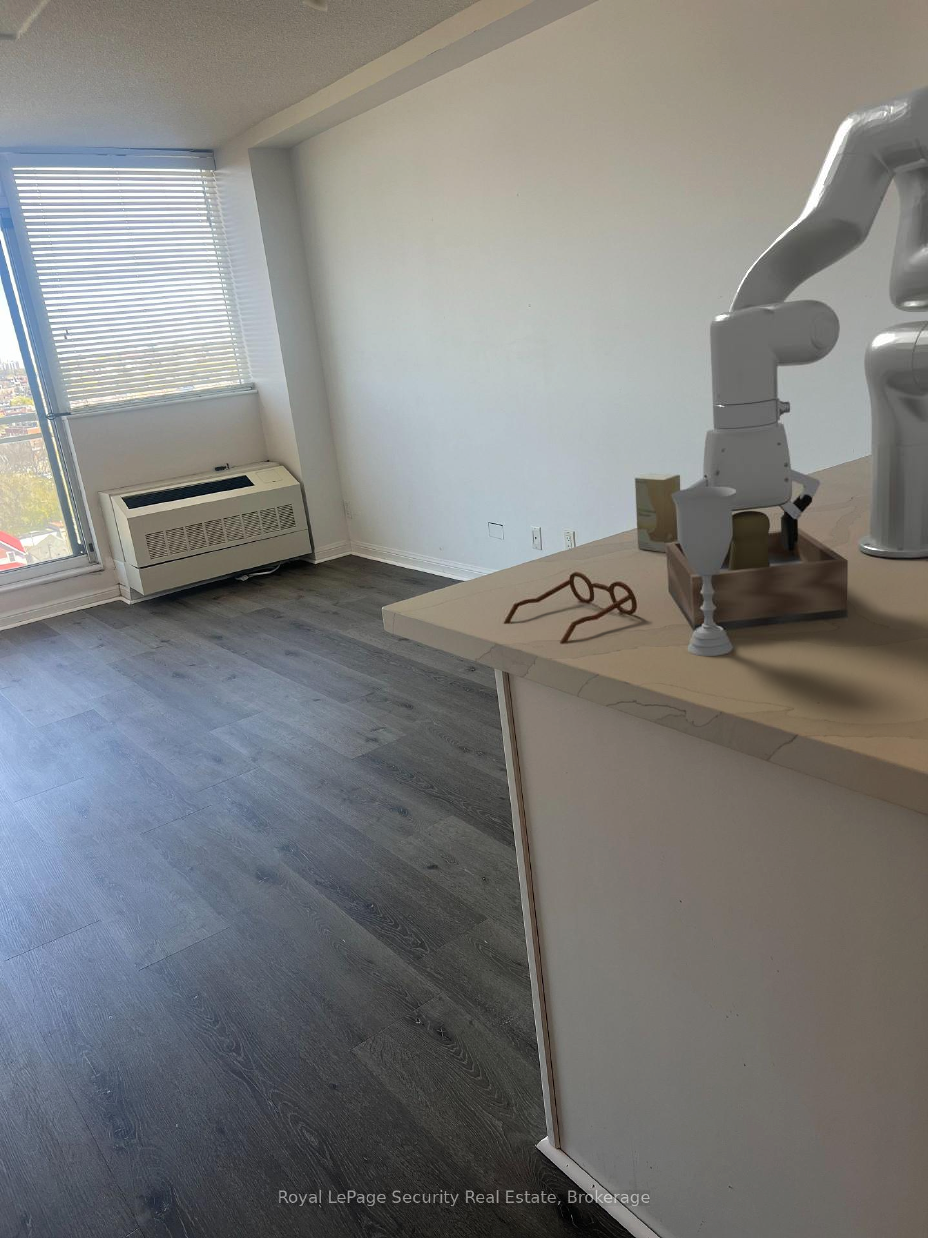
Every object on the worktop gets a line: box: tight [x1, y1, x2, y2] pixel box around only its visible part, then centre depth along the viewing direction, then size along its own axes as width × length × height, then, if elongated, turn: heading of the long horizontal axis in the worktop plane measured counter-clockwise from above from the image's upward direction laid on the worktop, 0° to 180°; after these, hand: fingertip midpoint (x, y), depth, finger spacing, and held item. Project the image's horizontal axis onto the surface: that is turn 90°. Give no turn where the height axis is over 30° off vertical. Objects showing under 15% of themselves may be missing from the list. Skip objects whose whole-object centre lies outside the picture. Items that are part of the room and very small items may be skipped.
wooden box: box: [665, 527, 849, 632], centre depth 113 cm, size 18×18×7 cm
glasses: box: [503, 571, 638, 644], centre depth 116 cm, size 13×13×5 cm
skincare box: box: [634, 472, 681, 553], centre depth 145 cm, size 6×4×12 cm
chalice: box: [671, 487, 736, 657], centre depth 98 cm, size 7×7×18 cm
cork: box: [729, 510, 771, 571], centre depth 112 cm, size 6×6×11 cm
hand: (749, 552), depth 112 cm, fingers open, 9 cm apart
